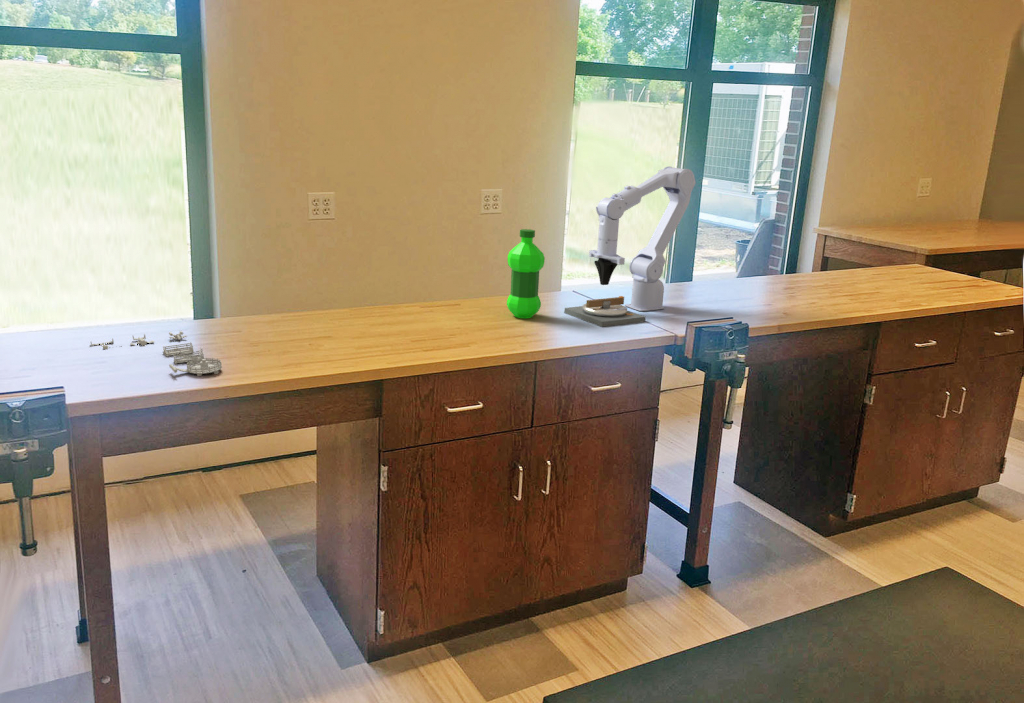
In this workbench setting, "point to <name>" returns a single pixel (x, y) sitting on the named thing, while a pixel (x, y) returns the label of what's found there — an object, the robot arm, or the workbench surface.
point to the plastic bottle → (525, 276)
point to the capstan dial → (606, 307)
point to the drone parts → (196, 368)
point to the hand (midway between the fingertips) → (604, 284)
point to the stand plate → (604, 317)
